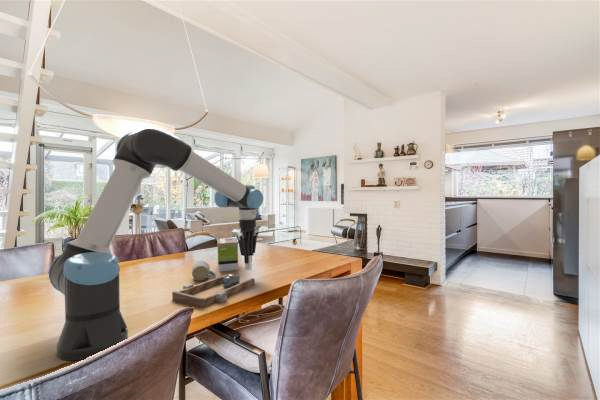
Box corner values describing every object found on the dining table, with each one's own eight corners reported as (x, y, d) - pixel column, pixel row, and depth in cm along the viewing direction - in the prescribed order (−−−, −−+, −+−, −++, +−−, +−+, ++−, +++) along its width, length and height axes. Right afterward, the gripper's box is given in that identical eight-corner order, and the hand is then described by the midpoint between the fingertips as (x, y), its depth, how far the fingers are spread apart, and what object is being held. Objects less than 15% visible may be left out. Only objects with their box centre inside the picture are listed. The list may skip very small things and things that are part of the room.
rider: (231, 289, 120) (231, 278, 120) (219, 287, 123) (219, 275, 123) (243, 284, 126) (243, 273, 126) (231, 282, 129) (230, 271, 129)
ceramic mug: (191, 282, 129) (191, 265, 129) (192, 277, 137) (192, 261, 137) (216, 280, 132) (216, 263, 132) (216, 275, 140) (216, 259, 140)
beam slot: (206, 309, 99) (206, 300, 99) (168, 298, 109) (168, 290, 109) (258, 285, 125) (258, 278, 125) (224, 278, 135) (223, 272, 135)
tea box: (217, 264, 161) (217, 238, 160) (235, 263, 164) (235, 237, 163) (218, 271, 146) (217, 242, 146) (238, 270, 149) (238, 241, 149)
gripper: (244, 220, 126) (245, 274, 127) (262, 217, 137) (263, 267, 138) (231, 219, 130) (232, 272, 130) (250, 217, 141) (250, 265, 142)
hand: (248, 269), depth 134 cm, fingers closed
